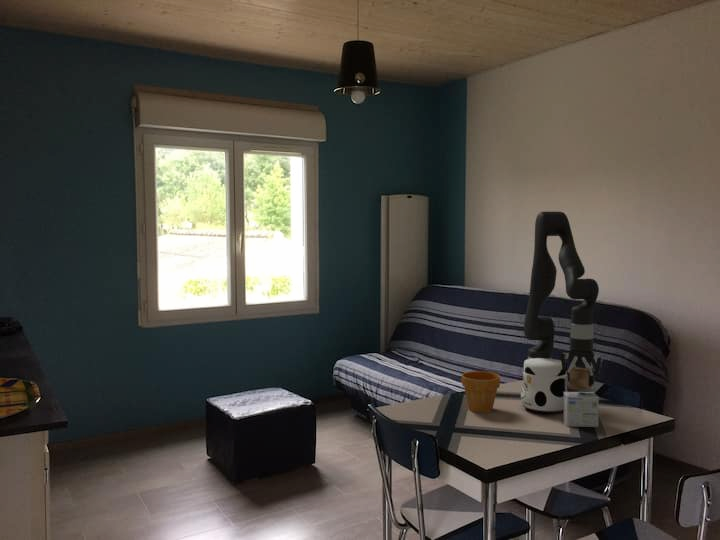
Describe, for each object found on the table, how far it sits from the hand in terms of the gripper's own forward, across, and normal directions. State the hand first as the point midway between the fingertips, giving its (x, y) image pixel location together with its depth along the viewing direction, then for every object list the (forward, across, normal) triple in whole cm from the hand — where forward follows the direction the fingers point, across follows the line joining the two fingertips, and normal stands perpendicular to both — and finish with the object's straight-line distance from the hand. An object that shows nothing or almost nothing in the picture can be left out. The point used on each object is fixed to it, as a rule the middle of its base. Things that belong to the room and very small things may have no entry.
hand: (581, 384), depth 212 cm
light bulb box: (+14, 0, 0) cm, 14 cm away
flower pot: (+14, -36, -3) cm, 39 cm away
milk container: (+14, -16, +10) cm, 24 cm away
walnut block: (+1, 0, 0) cm, 1 cm away
